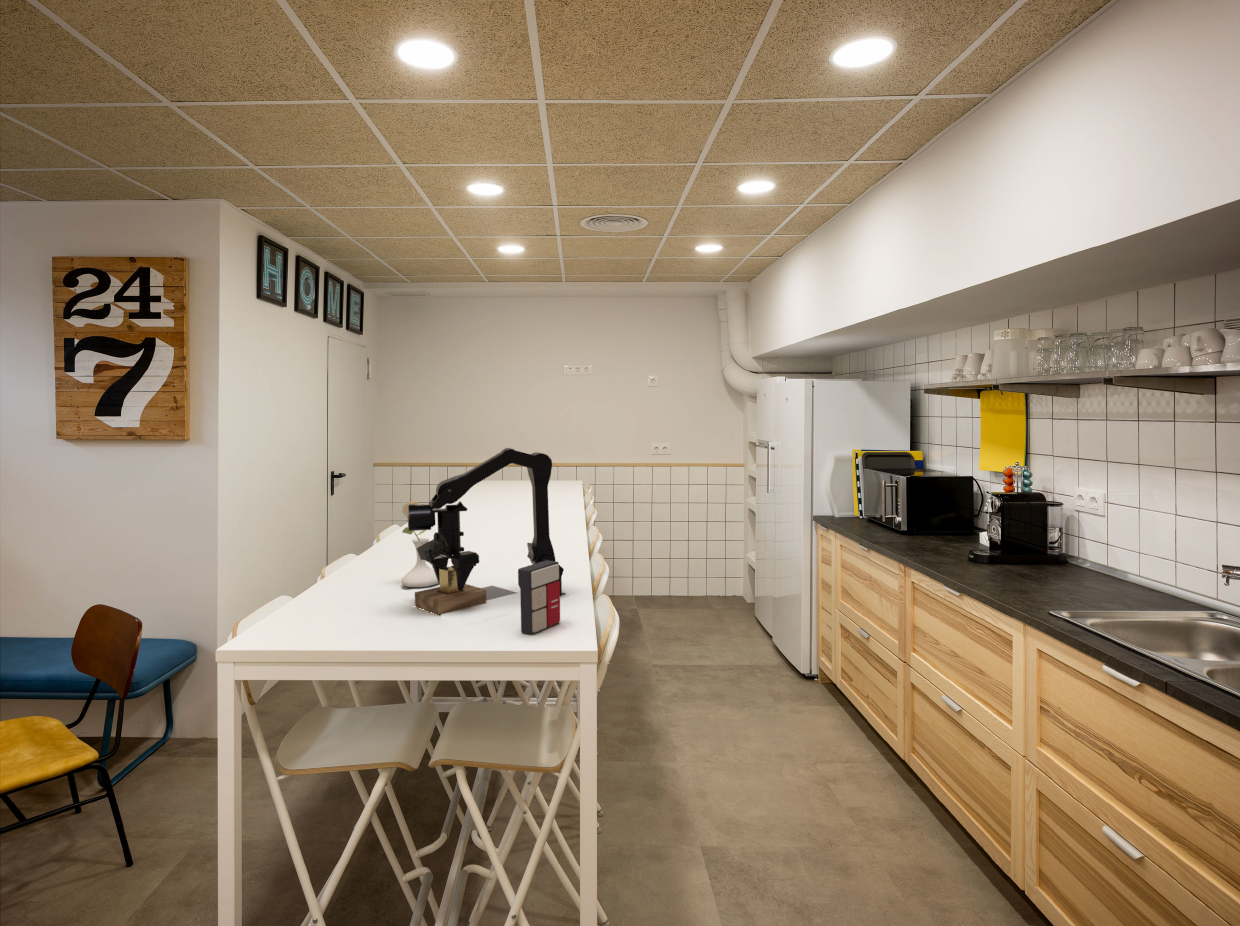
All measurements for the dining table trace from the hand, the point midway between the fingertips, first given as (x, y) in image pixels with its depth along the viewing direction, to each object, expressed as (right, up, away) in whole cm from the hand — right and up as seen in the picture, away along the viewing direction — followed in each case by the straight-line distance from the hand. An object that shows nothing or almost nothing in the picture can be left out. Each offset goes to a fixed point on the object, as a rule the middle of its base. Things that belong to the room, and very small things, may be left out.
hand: (450, 587), depth 181 cm
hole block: (0, -5, 0) cm, 5 cm away
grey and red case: (+26, -6, -19) cm, 33 cm away
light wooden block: (0, -5, 0) cm, 5 cm away
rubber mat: (+7, -4, +11) cm, 14 cm away
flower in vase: (-15, -4, +23) cm, 27 cm away
